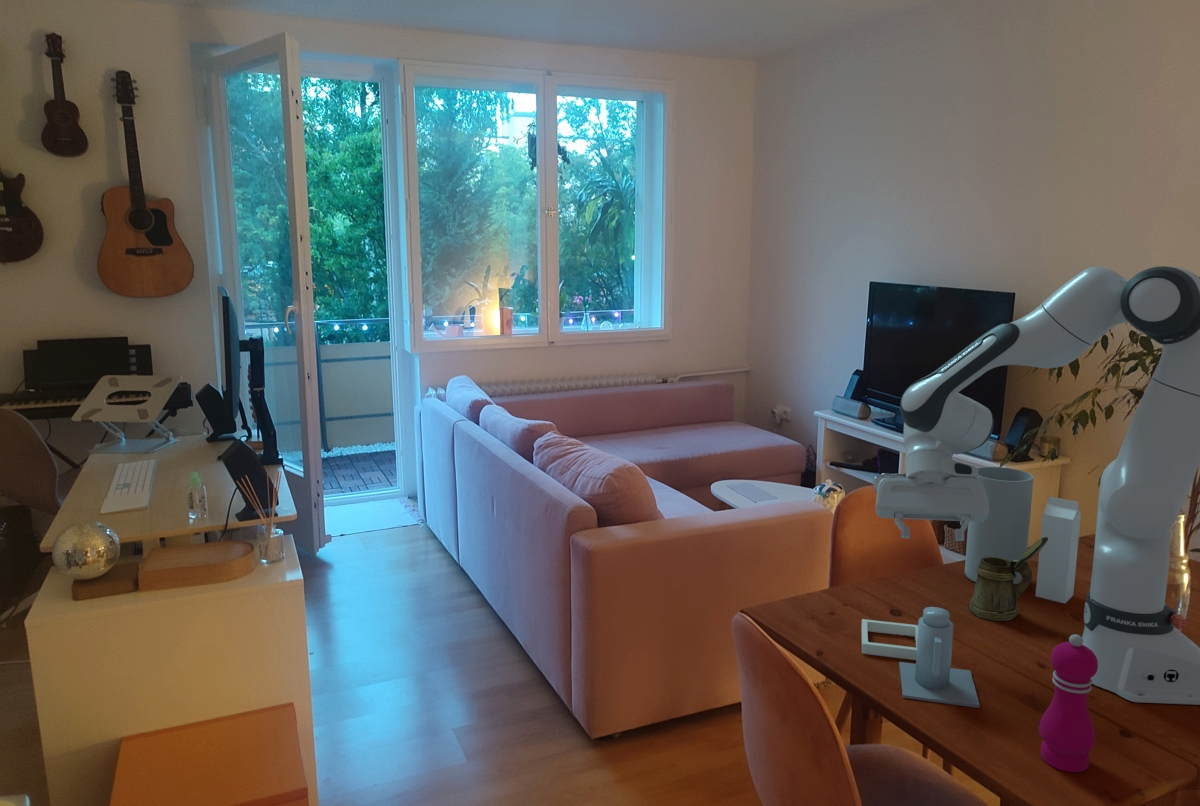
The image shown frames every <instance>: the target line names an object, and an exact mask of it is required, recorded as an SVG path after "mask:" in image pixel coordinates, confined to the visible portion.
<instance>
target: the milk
mask: <svg viewBox="0 0 1200 806" xmlns="http://www.w3.org/2000/svg"><path fill="white" fill-rule="evenodd" d="M1079 505H1080V504H1079V502H1078V501H1074V500H1069V499H1065V498H1058V497H1054V496H1053V497H1052V496H1049V497H1047V504H1046V505H1045V508H1044V510H1043V512H1042V518H1041V527H1040V528H1041V529H1040V538H1039V539H1041V538H1044V537H1047V538H1048V541H1047V542H1046V544H1045V545H1044V546H1043V547H1042V548H1041V550H1040V551H1038V564H1037V576H1036V587H1035V597H1037V598H1041V599H1045V600H1049V601H1053V602H1056V603H1061V604H1065V605H1066V603H1068V602H1069V600H1070V599H1071V598H1073V596H1074V590H1075V589H1074V588H1075V578H1076V570H1077V560H1078V559H1077V557H1078V548H1079V537H1080V529H1081V518H1082V513H1081V511H1080V510H1079Z"/></svg>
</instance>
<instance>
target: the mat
mask: <svg viewBox="0 0 1200 806" xmlns="http://www.w3.org/2000/svg"><path fill="white" fill-rule="evenodd" d="M898 665H899V674H900V684H901V691H902V698H903V699H909V700H915V701H916V700H917V701H924V702H932V703H938V704H939V703H940V704H947V705H954V706H963V707H969V708H977V709H980V707H981V706H980V701H979V698H978V694H977V690H976V687H975V683H974V679H973V677H972V671H971V669H970V670H969V669H961V668H953V667H950V681H949V687H948V688H946V689H943V690H932V689H928V688H925V687H922V686H920V685H919V684H918V683H917V682H916V681H915V669H916V663H913V662H912V663H911V662H906V661H905V662H904V661H899V662H898Z"/></svg>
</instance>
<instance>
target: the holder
mask: <svg viewBox="0 0 1200 806" xmlns="http://www.w3.org/2000/svg"><path fill="white" fill-rule="evenodd" d="M868 632H871V633H872V632H873V633H880V634H888V635H889V634H890V635H897V634H898V635H897V636H905V635H906V636H905V637H907V636H908V637H914V640H915V641H916V642H915V647H914V646H905V645H896V644H889V643H882V642H881V643H880V642H871V641H869V638H868V637H869V635H868ZM917 637H918V624H909V623H902V622H891V621H882V620H874V619H866V618H865V619H864V618H862V619H861V654H863V655H872V656H877V657H878V656H880V657H888V658H895V659H896V658H897V659H902V660H903V659H904V660H913V661H916V653H917Z"/></svg>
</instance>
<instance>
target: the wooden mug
mask: <svg viewBox="0 0 1200 806" xmlns="http://www.w3.org/2000/svg"><path fill="white" fill-rule="evenodd" d="M1040 538H1041V537H1040ZM1040 538H1039V539H1037V540H1036V541H1035V542H1034V543H1033V544H1032V545H1031V546H1030V547H1029V548H1028V549H1027V551H1026V552H1025V553H1024V555H1023V556H1022V557H1021V559H1020V560H1011V562H1009V561H1008V560H1006V559H1003V558H998V557H983V558H981V561H980V564H979V565H978V568H977V573H978V575H977V579H976V582H975V585H974V588H973V589H974V590H973V595H972V598H971V599H970V602H969V606H968V611H969V613H971V614H973V615H975V616H976V617H978V618H981V619H983V620H986V621H987V620H988V621H993V622H994V621H995V622H1006V621H1011V620H1013V619H1015V618H1016V617H1017V615H1018V614H1019V613H1018V611H1019V610H1018V606H1017V605H1018V600H1019V598H1020V597H1021V595H1022V594H1023V593H1024V592H1025V590H1027V588H1028V587H1029V586H1030V585H1031V583H1032V579H1033V571H1032V568H1031V566H1030V564H1029V560H1031V559H1032V558H1033V557H1034V556H1035V555H1036V554H1037V553H1039V551H1040V550H1041V548H1042V547H1043V546H1044V545H1045V544H1046V542H1047V541H1048V538H1047V537H1044V538H1041V539H1040ZM1015 572H1019V573H1020V574H1021V576H1022V581H1021V582H1020V583H1019V584H1014V583H1013V579H1014V578H1016V574H1015Z"/></svg>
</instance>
